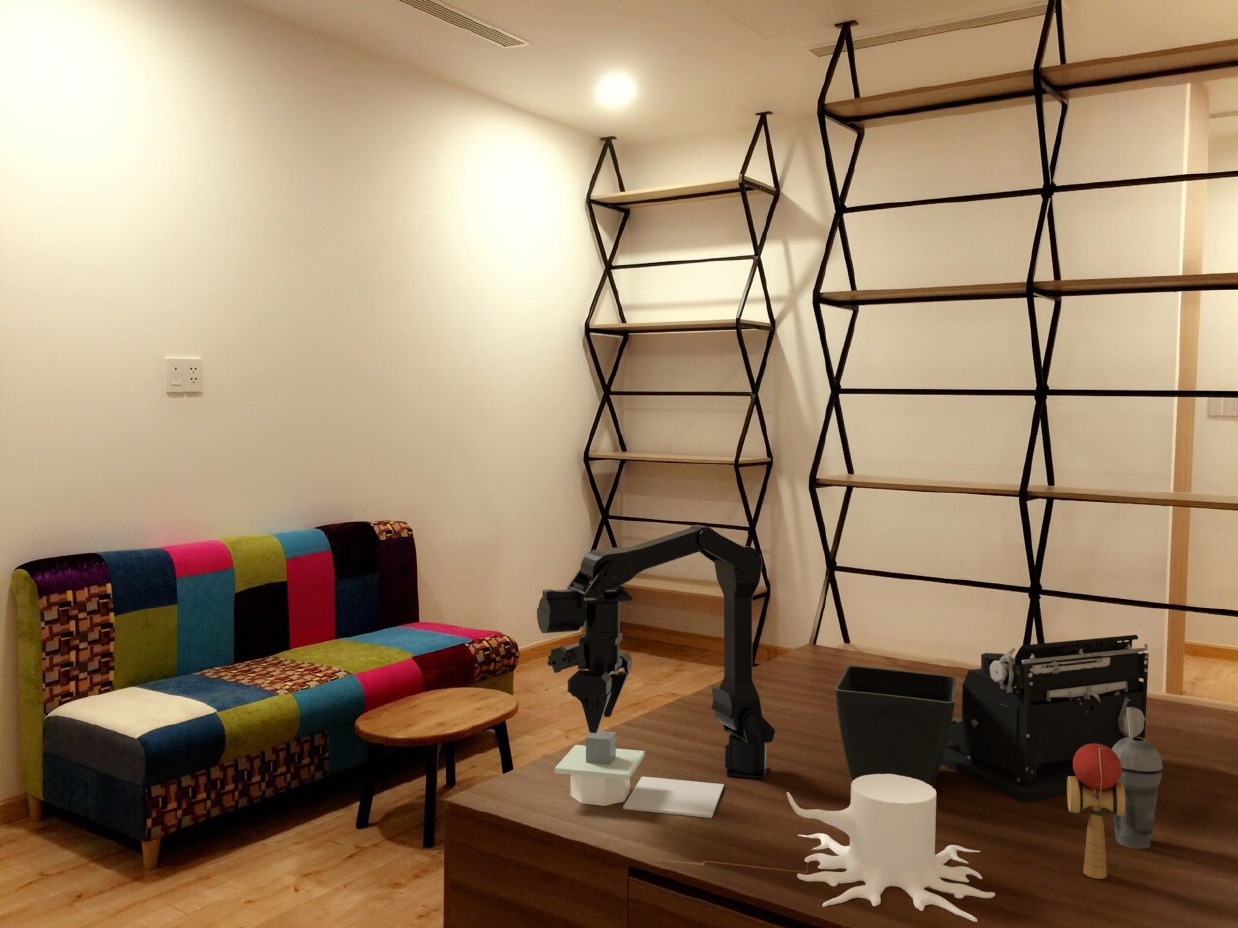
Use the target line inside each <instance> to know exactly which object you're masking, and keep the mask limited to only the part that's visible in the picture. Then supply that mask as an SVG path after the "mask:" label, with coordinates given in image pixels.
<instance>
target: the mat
mask: <svg viewBox="0 0 1238 928" xmlns="http://www.w3.org/2000/svg"><path fill="white" fill-rule="evenodd" d="M724 787H725V785H724V783H715V782H714V783H713V782H706V781H705V782H704V781H694V780H693V781H692V780H682V779H673V778H670V779H669V778H663V777H662V778H661V777H652V776H651V777H650V776H641V777H640V779H639V780H638V782H637V783H636V786H635V787H634V788H633V790H632V791H631V792H630V794H629V795H628V797H627V798H626V800H625V803H624V804H623V806H622V810H630V811H640V812H648V813H649V812H650V813H657V814H658V813H661V814H668V815H679V816H687V817H690V816H691V817H695V818H696V817H698V818H708V819H712V818H713V816H714V813H715V811H716V808H717V805H718V803H719V801H720V798H721V796H722V792H723V789H724Z"/></svg>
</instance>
